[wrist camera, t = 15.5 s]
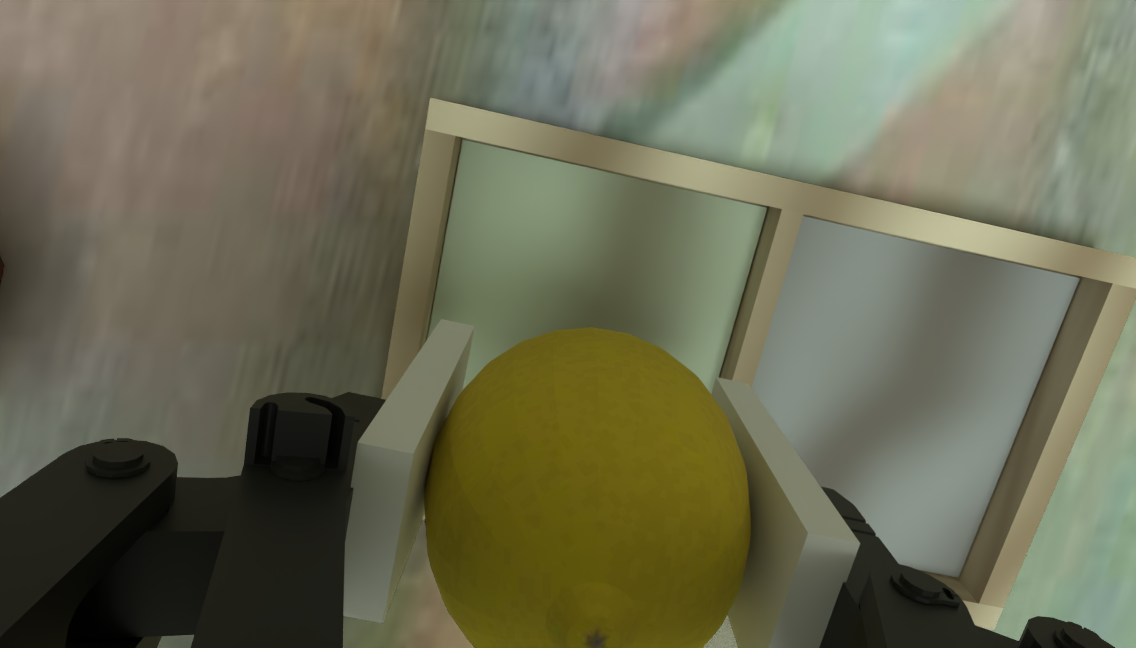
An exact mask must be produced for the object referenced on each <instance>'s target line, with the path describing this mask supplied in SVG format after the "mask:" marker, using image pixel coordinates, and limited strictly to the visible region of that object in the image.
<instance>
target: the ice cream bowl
mask: <svg viewBox="0 0 1136 648" xmlns="http://www.w3.org/2000/svg"><path fill="white" fill-rule="evenodd" d="M3 268H4V264H3V262H2V260H1V258H0V283H1V278H2V273H3Z"/></svg>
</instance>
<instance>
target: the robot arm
mask: <svg viewBox="0 0 1136 648" xmlns="http://www.w3.org/2000/svg"><path fill="white" fill-rule="evenodd" d="M474 328H475V326H472V325H467V324H462V323H458V322H453V321H448V320H443V319H441V320H440V322H439V323H438V325H437V326H436V328H435V329H434V330H433V332H432V333H431V335H430V336H429V338H428V339H427V341H426V342H425V344H424V345H423V347H422V348H421V350H420V351H419V353H418V354H417V356H416V357H415V359H414V360H413V361H412V363H411V364H410V366H409V367H408V369H407V370H406V372H405V373H404V375H403V376H402V378H401V379H400V381H399V382H398V384H397V385H396V387H395V388H394V390H393V391H392V392H391V394H390V395H389V397H388V398H387V400H385V399H380V398H375V397H370V396H365V395H360V394H355V393H350V392H347V393H345V394H342V395H340V396H337V397H334V398H329V397H326V396H322V395H316V394H310V393H282V394H275V395H269V396H267V397H264V398H262V399H259V400H257V401H256V402H255V403H254V404H253V405H252V407H251V408H250V415H249V424H248V433H247V442H246V451H245V460H244V466H243V469H242V473H241V476H234V477H227V478H182V477H177V467H178V462H177V459H176V457H175V454H174V453H172V452H171V451H169V450H168V449H167V448H165V447H164V446H161V445H157V444H154V443H150V442H147V441H137V440H132V439H128V438H117V440H114V439H106V440H101V441H99V442H95V443H91V444H87V445H82V446H79V447H77V448H75V449H73V450H71V451H69V452H67V453H65V454H63V455H61V456H60V457H58V458H57V459H56V460H54V461H53V462H51V463H50V464H48V465H47V466H45V467H44V468H43V469H41V470H40V471H38V472H37V473H35V474H34V475H33V476H31V477H30V478H28V479H27V480H25V481H24V482H22V483H21V484H20V485H18V486H17V487H15V488H14V489H12V490H11V491H10V492H8V493H7V494H5V495H4V496H2V497H1V498H0V648H157V646H158V644H159V642H160V639H161V637H162V636H173V635H193V634H195V635H194V639H193V642H192V645H191V648H343V616H345V617H350V618H356V619H361V620H366V621H372V622H377V623H382V624H383V622H384V620H385V617H386V614H387V612H388V609H389V607H390V604H391V601H392V599H393V596H394V593H395V591H396V588H397V585H398V583H399V580H400V577H401V575H402V572H403V569H404V567H405V564H406V562H407V559H408V556H409V554H410V551H411V548H412V546H413V543H414V540H415V538H416V535H417V532H418V530H419V527H420V524H421V522H422V519H423V517H424V514H425V511H424V493H425V486H426V481H427V476H428V471H429V467H430V462H431V457H432V452H433V448H434V444H435V441H436V438H437V436H438V434H439V432H440V430H441V428H442V426H443V424H444V422H445V420H446V418H447V416H448V414H449V412H450V410H451V408H452V406H453V405H454V403H455V401H456V399H457V397H458V396H459V394H460V393H461V392H462V390H463V385H464V380H465V375H466V370H467V364H468V359H469V354H470V349H471V344H472V338H473V333H474ZM711 395H712V396H713V398H714V399H715V400H716V402H717V403H718V404H719V406H720V407H721V408H722V410H723V411H724V413H725V415H726V416H727V418H728V421H729V423H730V426H731V428H732V431H733V434H734V436H735V439H736V441H737V444H738V447H739V449H740V452H741V455H742V457H743V460H744V463H745V467H746V471H747V480H748V490H749V501H750V512H751V538H750V546H749V551H748V556H747V561H746V566H745V571H744V576H743V581H742V584H741V587H740V590H739V592H738V594H737V596H736V598H735V600H734V602H733V604H732V606H731V608H730V610H729V612H728V617H729V620H730V623H731V626H732V629H733V633H734V636H735V639H736V642H737V645H738V648H1115V647H1114V646H1112V645H1110V644H1109V643H1107V642H1106V641H1104V640H1102V639H1101V638H1100V637H1099V636H1098V635H1097V634H1096V633H1094V632H1093V631H1091V630H1089V629H1087V628H1085V627H1084V629H1082V626H1080V625H1078V624H1075V623H1073V622H1064V621H1061V620H1058V619H1055V618H1050V617H1040V616H1037V617H1034V618H1032V619H1029V620H1028V622H1027V625H1026V627H1025V629H1024V631H1023V634H1022V636H1021V638H1020V640H1019V641H1016V640H1014V639H1011V638H1008V637H1006V636H1003V635H1000V634H998V633H995V632H992V631H990V630H987V629H984V628H982V627H979V626H976V625H975V624H974V622H973V620H972V617H971V615H970V613H969V611H968V608H967V606H966V605H965V603H964V602H963V601H962V599H961V598H960V597H959V595H958V594H956V593H955V591H954V590H952V589H951V588H949V587H948V586H947V585H946V584H944V583H942V582H941V581H939V580H937V579H935V578H934V577H932V576H930V575H929V574H926V573H924V572H922V571H919V570H917V569H914V568H912V567H909V566H905V565H901V564H899V563H898V562H897V561H896V560H895V558H894V557H893V556H892V554H891V553H890V552H889V550H888V549H887V548H886V546H885V545H884V544H883V542H882V541H881V540H880V538H879V537H876V533H875V532H874V530H873V529H872V528H871V526H870V525H869V524H867V523H866V520H865V519H864V517H863V516H862V515H861V513H860V512H859V511H858V509H857V508H856V507H855V505H854V504H852V503H851V502H850V501H848V500H847V499H846V498H844V497H843V496H842V495H840V494H839V493H838V492H837V491H835V490H834V489H831V488H826V487H821V486H820V485H819V484H818V482H817V481H816V480H815V478H814V477H813V475H812V474H811V472H810V471H809V470H808V468H807V467H806V465H805V464H804V462H803V461H802V460H801V458H800V457H799V455H798V454H797V452H796V451H795V450H794V448H793V447H792V445H791V444H790V443H789V441H788V440H787V438H786V437H785V435H784V434H783V433H782V431H781V430H780V428H779V427H778V425H777V424H776V423H775V421H774V420H773V418H772V417H771V415H770V414H769V413H768V411H767V410H766V408H765V407H764V405H763V404H762V403H761V401H760V400H759V398H758V397H757V395H756V394H755V393H754V391H753V390H752V388H751V387H750V385H749V384H746V383H742V382H737V381H732V380H728V379H723V378H718V377H716V379H715V383H714V386H713V390H712V393H711Z"/></svg>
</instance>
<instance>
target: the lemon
mask: <svg viewBox="0 0 1136 648" xmlns="http://www.w3.org/2000/svg"><path fill="white" fill-rule="evenodd" d="M424 511H425V524H426V537H427V548H428V557H429V561H430V565H431V569H432V572H433V574H434V577H435V580H436V582H437V585H438V588H439V590H440V593H441V596H442V599H443V601H444V603H445V606H446V608H447V610H448V612H449V614H450V615H451V616H452V618H453V619H454V621H455V622H456V624H457V625H458V626H459V628H460V629H461V631H462V632H463V633H464V635H465V636H466V638H467V639H468V640H469V642H470V643H471V644H472V645H473V646H474V647H475V648H703V647H704V645H705V644H706V643H707V642H708V641H709V640H710V639H711V637H712V636H713V635H714V634H715V633H716V632H717V630H718V629H719V628H720V626H721V625H722V624H723V622H724V620H725V618H726V616H727V614H728V612H729V610H730V608H731V606H732V604H733V602H734V600H735V598H736V596H737V594H738V592H739V590H740V587H741V584H742V581H743V576H744V571H745V566H746V561H747V556H748V551H749V546H750V538H751V512H750V501H749V490H748V480H747V471H746V467H745V463H744V460H743V457H742V455H741V452H740V449H739V447H738V444H737V441H736V439H735V436H734V434H733V431H732V428H731V426H730V423H729V421H728V418H727V416H726V415H725V413H724V411H723V410H722V408H721V407H720V406H719V404H718V403H717V402H716V400H715V399H714V398H713V396H712V395H711V393H710V392H709V391H708V389H707V388H706V387H705V385H704V384H703V383H702V381H701V380H700V379H699V378H698V377H697V376H696V374H695V373H693V372H692V371H691V370H689V369H688V368H687V367H686V366H684V365H683V364H682V363H681V362H679V361H678V360H677V359H675V358H674V357H673V356H672V355H670V354H669V353H668V352H666V351H665V350H664V349H662V348H660V347H658V346H656V345H653V344H651V343H649V342H646V341H644V340H642V339H640V338H637V337H635V336H633V335H631V334H628V333H623V332H617V331H611V330H605V329H599V328H594V327H588V328H575V329H563V330H555V331H552V332H549V333H546V334H543V335H540V336H537V337H534V338H531V339H528V340H525V341H521V342H520V343H518V344H517V345H515V346H514V347H512V348H510V349H509V350H507V351H506V352H504V353H502V354H501V355H499V356H498V357H496V358H495V359H493V360H491V361H490V362H489V363H488V364H486V366H485V367H484V368H483V369H482V370H481V371H480V372H479V373H478V374H477V375H476V376H475V377H474V379H473V380H472V381H471V382H470V383H469V384H468V385H467V386H466V387H465V388H464V389H463V391H462V392H461V393H460V394H459V396H458V397H457V399H456V401H455V403H454V405H453V406H452V408H451V410H450V412H449V414H448V416H447V418H446V420H445V422H444V424H443V426H442V428H441V430H440V432H439V434H438V436H437V438H436V441H435V444H434V448H433V452H432V457H431V462H430V467H429V471H428V476H427V481H426V486H425V493H424Z"/></svg>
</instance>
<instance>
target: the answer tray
mask: <svg viewBox="0 0 1136 648" xmlns="http://www.w3.org/2000/svg"><path fill="white" fill-rule="evenodd" d="M1135 300H1136V258H1134V257H1129V256H1125V255H1121V254H1116V253H1112V252H1107V251H1103V250H1099V249H1094V248H1090V247H1085V246H1081V245H1077V244H1072V243H1068V242H1063V241H1059V240H1055V239H1050V238H1046V237H1041V236H1037V235H1033V234H1028V233H1024V232H1019V231H1015V230H1011V229H1006V228H1002V227H997V226H993V225H989V224H984V223H980V222H975V221H971V220H967V219H962V218H958V217H953V216H949V215H945V214H940V213H936V212H931V211H927V210H923V209H918V208H914V207H909V206H905V205H901V204H896V203H892V202H887V201H883V200H879V199H874V198H870V197H865V196H861V195H857V194H852V193H848V192H843V191H839V190H835V189H830V188H826V187H821V186H817V185H813V184H808V183H804V182H799V181H795V180H791V179H786V178H782V177H777V176H773V175H769V174H764V173H760V172H755V171H751V170H747V169H742V168H738V167H733V166H729V165H725V164H720V163H716V162H711V161H707V160H703V159H698V158H694V157H689V156H685V155H681V154H676V153H672V152H667V151H663V150H659V149H654V148H650V147H645V146H641V145H637V144H632V143H628V142H623V141H619V140H615V139H610V138H606V137H601V136H597V135H593V134H588V133H584V132H579V131H575V130H571V129H566V128H562V127H557V126H553V125H549V124H544V123H540V122H535V121H531V120H527V119H522V118H518V117H513V116H509V115H505V114H500V113H496V112H491V111H487V110H483V109H478V108H474V107H469V106H465V105H461V104H456V103H452V102H447V101H443V100H439V99H434V98H430V102H429V109H428V115H427V121H426V127H425V133H424V139H423V145H422V151H421V158H420V164H419V170H418V176H417V182H416V188H415V194H414V200H413V206H412V213H411V219H410V225H409V231H408V237H407V243H406V249H405V255H404V261H403V268H402V274H401V280H400V286H399V292H398V298H397V304H396V310H395V317H394V323H393V329H392V335H391V341H390V347H389V353H388V359H387V365H386V372H385V378H384V384H383V390H382V396H381V399H385V400H387V398H388V397H389V395H390V394H391V392H392V391H393V390H394V388H395V387H396V385H397V384H398V382H399V381H400V379H401V378H402V376H403V375H404V373H405V372H406V370H407V369H408V367H409V366H410V364H411V363H412V361H413V360H414V359H415V357H416V356H417V354H418V353H419V351H420V350H421V348H422V347H423V345H424V344H425V342H426V341H427V339H428V338H429V336H430V335H431V333H432V332H433V330H434V329H435V328H436V326H437V325H438V323H439V322H440V320H441V319H443V320H448V321H453V322H458V323H462V324H467V325H472V326H475V328H474V333H473V338H472V344H471V349H470V354H469V359H468V364H467V370H466V375H465V380H464V385H463V389H464V388H465V387H466V386H467V385H468V384H469V383H470V382H471V381H472V380H473V379H474V377H475V376H476V375H477V374H478V373H479V372H480V371H481V370H482V369H483V368H484V367H485V366H486V364H488V363H489V362H490V361H491V360H493V359H495V358H496V357H498V356H499V355H501V354H502V353H504V352H506V351H507V350H509V349H510V348H512V347H514V346H515V345H517V344H518V343H520V342H521V341H525V340H528V339H531V338H534V337H537V336H540V335H543V334H546V333H549V332H552V331H555V330H563V329H575V328H588V327H594V328H599V329H605V330H611V331H617V332H623V333H628V334H631V335H633V336H635V337H637V338H640V339H642V340H644V341H646V342H649V343H651V344H653V345H656V346H658V347H660V348H662V349H664V350H665V351H666V352H668V353H669V354H670V355H672V356H673V357H674V358H675V359H677V360H678V361H679V362H681V363H682V364H683V365H684V366H686V367H687V368H688V369H689V370H691V371H692V372H693V373H695V374H696V376H697V377H698V378H699V379H700V380H701V381H702V383H703V384H704V385H705V387H706V388H707V389H708V391H709V392H710V393H712V390H713V386H714V383H715V379H716V377H718V378H723V379H728V380H732V381H737V382H742V383H746V384H749V385H750V387H751V388H752V390H753V391H754V393H755V394H756V395H757V397H758V398H759V400H760V401H761V403H762V404H763V405H764V407H765V408H766V410H767V411H768V413H769V414H770V415H771V417H772V418H773V420H774V421H775V423H776V424H777V425H778V427H779V428H780V430H781V431H782V433H783V434H784V435H785V437H786V438H787V440H788V441H789V443H790V444H791V445H792V447H793V448H794V450H795V451H796V452H797V454H798V455H799V457H800V458H801V460H802V461H803V462H804V464H805V465H806V467H807V468H808V470H809V471H810V472H811V474H812V475H813V477H814V478H815V480H816V481H817V482H818V484H819V485H820V486H821V487H826V488H831V489H834V490H835V491H837V492H838V493H839V494H840V495H842V496H843V497H844V498H846V499H847V500H848V501H850V502H851V503H852V504H854V505H855V507H856V508H857V509H858V511H859V512H860V513H861V515H862V516H863V517H864V519H865V520H866V523H867V524H869V525H870V526H871V528H872V529H873V530H874V532H875V533H876V537H879V538H880V540H881V541H882V542H883V544H884V545H885V546H886V548H887V549H888V550H889V552H890V553H891V554H892V556H893V557H894V558H895V560H896V561H897V562H898V563H899V564H901V565H905V566H909V567H912V568H914V569H917V570H919V571H922V572H924V573H926V574H929V575H930V576H932V577H934V578H935V579H937V580H939V581H941V582H942V583H944V584H946V585H947V586H948V587H949V588H951V589H952V590H954V591H955V593H956V594H958V595H959V597H960V598H961V599H962V601H963V602H964V603H965V605H966V606H967V608H968V611H969V613H970V615H971V617H972V620H973V622H974V624H975V625H976V626H979V627H982V628H987V629H992V630H994V629H995V626H996V624H997V622H998V619H999V617H1000V615H1001V612H1002V610H1003V608H1004V605H1005V603H1006V601H1007V598H1008V596H1009V594H1010V591H1011V589H1012V587H1013V584H1014V582H1015V580H1016V577H1017V575H1018V573H1019V570H1020V568H1021V566H1022V563H1023V561H1024V559H1025V556H1026V554H1027V552H1028V549H1029V547H1030V545H1031V542H1032V540H1033V538H1034V535H1035V533H1036V531H1037V528H1038V526H1039V524H1040V521H1041V519H1042V517H1043V514H1044V512H1045V510H1046V507H1047V505H1048V503H1049V500H1050V498H1051V496H1052V493H1053V491H1054V489H1055V486H1056V484H1057V482H1058V479H1059V477H1060V475H1061V472H1062V470H1063V468H1064V465H1065V463H1066V461H1067V458H1068V456H1069V454H1070V452H1071V449H1072V447H1073V445H1074V442H1075V440H1076V438H1077V435H1078V433H1079V431H1080V428H1081V426H1082V424H1083V421H1084V419H1085V417H1086V414H1087V412H1088V410H1089V407H1090V405H1091V403H1092V400H1093V398H1094V396H1095V393H1096V391H1097V389H1098V386H1099V384H1100V382H1101V379H1102V377H1103V375H1104V372H1105V370H1106V368H1107V365H1108V363H1109V361H1110V358H1111V356H1112V354H1113V351H1114V349H1115V347H1116V344H1117V342H1118V340H1119V337H1120V335H1121V333H1122V330H1123V328H1124V326H1125V323H1126V321H1127V319H1128V316H1129V314H1130V312H1131V309H1132V307H1133V305H1134V302H1135ZM462 391H463V390H462ZM423 519H425V514H424V517H423Z"/></svg>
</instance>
